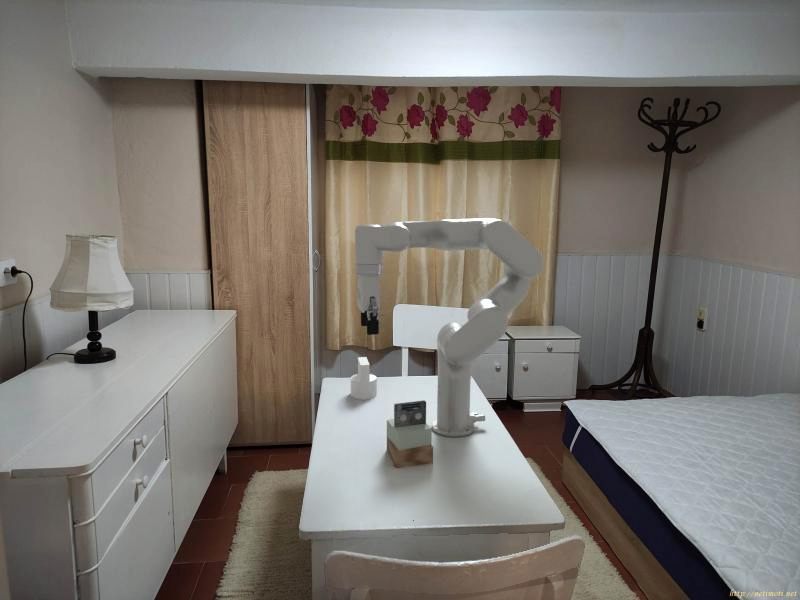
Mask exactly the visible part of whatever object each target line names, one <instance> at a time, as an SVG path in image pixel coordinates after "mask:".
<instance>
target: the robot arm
mask: <svg viewBox="0 0 800 600" xmlns="http://www.w3.org/2000/svg"><path fill="white" fill-rule="evenodd" d="M410 248H411V249H412V248H414V249H415V248H423V249H424V248H427V249H435V250H439V251H445V252H452V251H454V252H455V251H473V250H489V251H490V252H491V253H492V254H493V255H494V256H495V257H496V258H498V260H500V262H502V263H503V264H504V265H503V266H504V269H503V270H504V271H503V273H502V276H501V279H499V281H498V282H497V283H496V284H495V285H494V286H493V287H492V288H490V290H488V291H487V292H485V294H484V295H482V297H480V298H479V299H477V301H475V302H474V303H473V304H472V305H471V306H470V307H469V309H468V311H467V313H466V314H467V321H466V323H464V324H462V323H459V322H454V321H453V322H448V323H447V324H444V326H442V327H441V328H440V330H439V332H438V334H437V337H436V348H437V395H436V396H437V401H436V403H437V405H436V406H437V407H436V408H437V409H436V412H437V413H436V418H435V419H434V420H432V422H431V428H432V431H434V432H435V433H436V434H439V435H441V436H443V437H449V438H451V437H453V438H455V437H456V438H457V437H458V438H459V437H465V436H469V435H470V434H472V433H474V432H475V423H476V422H485V421H486V415H485V414H479V413H478V412H471V411H470V408H471V379H472V363H473V362H474V361H477V359H479V358H480V357H481V356H482V355H483V354H484V353H485V352H487V351H488V350H489V349H490V348H492V347H493V346H494V345H495V344H496V343H497V342H498V341H500V339H501V338H502V337H504V335H505V333H506V332H507V330H508V327H509V317H508V316H509V314H510V313H512V312H513V311H514V309H516V308H517V307H518V306H520V304H521V303H522V302H523V301H524V300H525V299H526V297H527V295H528V293H529V291H530V290H531V289H530V288H531V285H532V280H533V279H536V278H537V277H539V276H540V275H541V274H542V273H543V270H544V267H545V260H544V256H543V254H542V253H541V251H540V250H538V249H537V247H535V246H534V245H533V244H531V242H529V240H527V239H526V238H525V237H524V236H523V235H522V234H520V233H519V231H517V230H516V229H515V228H514V227H513V226H511V225H510V224H509V222H507V221H505V220H503V219H500V218H499V219H498V218H493V217H491V218H490V217H485V218H484V217H483V218H459V219H454V218H453V219H439V220H438V219H437V220H428V221H427V220H426V221H425V220H424V221H423V220H422V221H399V222H398V221H397V222H391V223H388V224H387V225H380V224H372V223H369V224H358V225H356V227H355V229H354V256H355V257H354V259H355V260H354V262H355V266H354V269H355V276H357V299H356V300H357V301H356V303H357V305H356V306H357V307H358V309H359V310H360V325H361V327H366V334H367V335H368V336H371V335H373V336H374V335H379V334H380V332H379V331H380V327H379V325H380V323H379V322H380V320H379V313H378V312H379V311H380V308H381V298H380V297H381V296H380V295H381V293H380V292H381V291H380V290H381V289H380V284H381V283H380V277H382V276H383V275H384V273H383V272H384V271H383V270H384V269H383V267H384V266H383V265H384V264H383V263H384V262H383V259H384V258H383V253H384V252H385V251H386V252H391V253H402V252H404V251H406V250H407V249H410ZM383 251H384V252H383Z"/></svg>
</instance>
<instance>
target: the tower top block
mask: <svg viewBox="0 0 800 600" xmlns="http://www.w3.org/2000/svg"><path fill="white" fill-rule="evenodd" d="M432 431H433V429H432V426H430V425H429V424H428V423H427V422H426V424H419V425H411V426H403V427H395V425H394V418H391V419H386V438H387V437H388V438H389V439H390V440H391V442H392V443H393V444H394V445H395V446H396V448H397V449H398V450H405V449H410V448H416V447H421V446H427V445H432V446H433V444H432V443H433V442H432V441H433V439H432V434H433V432H432Z"/></svg>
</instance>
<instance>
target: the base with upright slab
mask: <svg viewBox="0 0 800 600" xmlns="http://www.w3.org/2000/svg"><path fill="white" fill-rule="evenodd" d="M370 372H371V371H370V362H369V360H368V357H367V356H360V357H357V373H356V374H353V375H352V376H350V396H351V397H352V398H353V397H354V399H356V398H357V400H369V399H370V400H371V399H373V398H375V397H377V394H378V382H377V381H378V377H377V376H376V375H374V374H373V373H370Z"/></svg>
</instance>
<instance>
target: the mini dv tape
mask: <svg viewBox="0 0 800 600" xmlns="http://www.w3.org/2000/svg"><path fill="white" fill-rule="evenodd" d="M393 416H394V418H393V419H394V425H395V427H403V426H411V425H419V424H426V423H427V401H426V400H416V401H415V400H414V401H408V402H399V403H394V405H393Z"/></svg>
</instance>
